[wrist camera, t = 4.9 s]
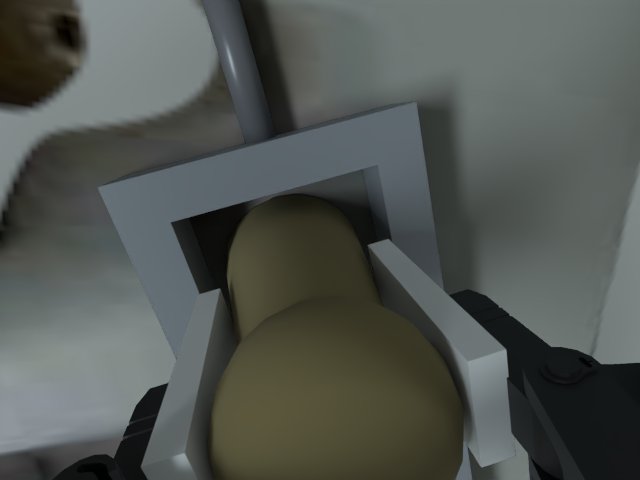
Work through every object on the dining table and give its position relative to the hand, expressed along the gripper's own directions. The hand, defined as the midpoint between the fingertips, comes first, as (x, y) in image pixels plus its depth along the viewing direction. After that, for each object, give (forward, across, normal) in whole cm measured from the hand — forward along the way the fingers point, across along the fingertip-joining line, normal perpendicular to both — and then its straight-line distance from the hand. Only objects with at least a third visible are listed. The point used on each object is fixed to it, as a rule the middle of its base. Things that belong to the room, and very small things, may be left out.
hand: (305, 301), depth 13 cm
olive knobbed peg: (+4, 0, 0) cm, 4 cm away
